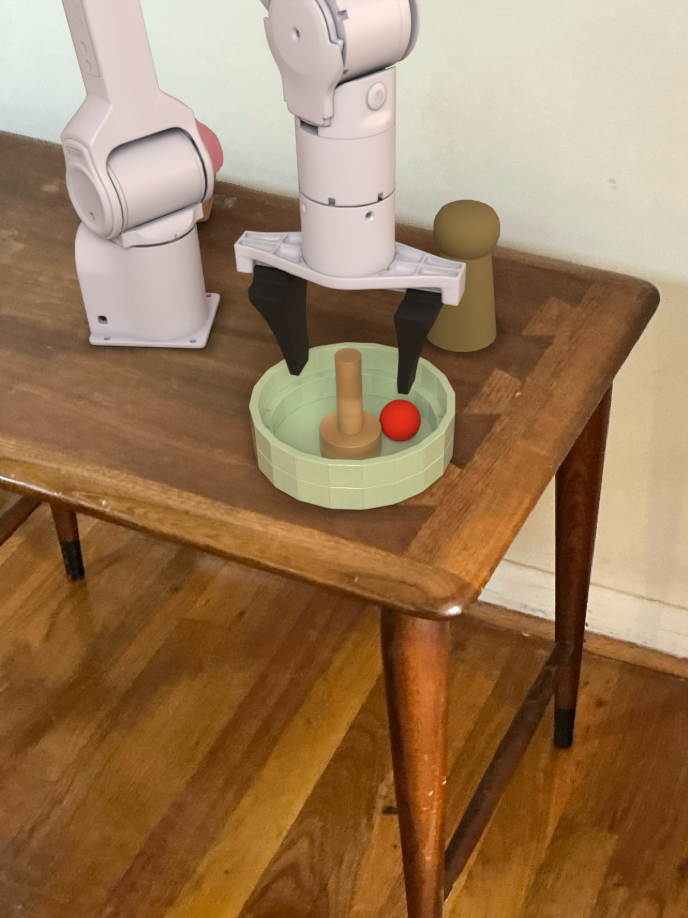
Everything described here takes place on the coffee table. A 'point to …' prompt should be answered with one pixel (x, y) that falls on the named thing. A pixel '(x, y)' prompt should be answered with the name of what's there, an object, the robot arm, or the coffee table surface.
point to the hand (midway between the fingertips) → (352, 376)
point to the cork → (467, 275)
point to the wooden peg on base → (349, 415)
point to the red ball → (400, 420)
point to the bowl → (314, 397)
